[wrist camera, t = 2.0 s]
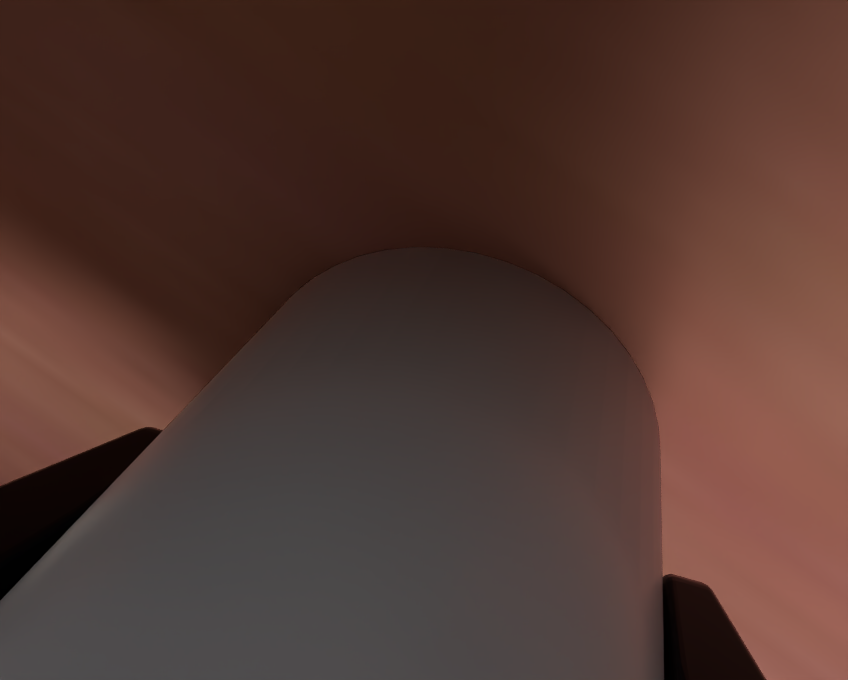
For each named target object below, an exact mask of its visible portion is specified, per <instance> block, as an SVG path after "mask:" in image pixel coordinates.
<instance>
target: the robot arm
mask: <svg viewBox="0 0 848 680" xmlns="http://www.w3.org/2000/svg"><path fill="white" fill-rule="evenodd" d="M162 431H163V430H160V429H157V428H153V427H145V428H141V429H138V430H136V431H133V432H131V433H129V434H126V435H124V436H121V437H119V438H116V439H114V440H112V441H109V442H107V443H104V444H102V445H99V446H97V447H94V448H92V449H90V450H87V451H85V452H82V453H80V454H77V455H75V456H73V457H70V458H68V459H65V460H63V461H60V462H58V463H55V464H53V465H51V466H48V467H46V468H43V469H41V470H38V471H36V472H34V473H31V474H29V475H26V476H24V477H21V478H19V479H16V480H14V481H12V482H9V483H7V484H4V485H2V486H0V600H1V599H2V598H3V597H4V596H5V595H6V594H7V593H8V592H9V591H10V590H11V589H12V588H13V587H14V586H15V585H16V584H17V583H18V582H19V581H20V579H21V578H22V577H23V576H24V575H25V574H26V573H27V572H28V571H29V570H30V569H31V568H32V567H33V566H34V565H35V564H36V563H37V562H38V561H39V560H40V559H41V558H42V556H43V555H44V554H45V553H46V552H47V551H48V550H49V549H50V548H51V547H52V546H53V545H54V544H55V543H56V542H57V541H58V540H59V539H60V538H61V537H62V536H63V535H64V533H65V532H66V531H67V530H68V529H69V528H70V527H71V526H72V525H73V524H74V523H75V522H76V521H77V520H78V519H79V518H80V517H81V516H82V515H83V514H84V513H85V512H86V511H87V509H88V508H89V507H90V506H91V505H92V504H93V503H94V502H95V501H96V500H97V499H98V498H99V497H100V496H101V495H102V494H103V493H104V492H105V491H106V490H107V489H108V488H109V486H110V485H111V484H112V483H113V482H114V481H115V480H116V479H117V478H118V477H119V476H120V475H121V474H122V473H123V472H124V471H125V470H126V469H127V468H128V467H129V466H130V465H131V463H132V462H133V461H134V460H135V459H136V458H137V457H138V456H139V455H140V454H141V453H142V452H143V451H144V450H145V449H146V448H147V447H148V446H149V445H150V444H151V443H152V442H153V441H154V439H155V438H156V437H157V436H158V435H159V434H160V433H161V432H162ZM663 635H664V680H766V679H765V677H764V675H763V674H762V672H761V670H760V669H759V667H758V665H757V664H756V662H755V660H754V659H753V657H752V655H751V654H750V652H749V650H748V649H747V647H746V645H745V644H744V642H743V641H742V639H741V637H740V636H739V634H738V632H737V631H736V629H735V627H734V626H733V624H732V622H731V621H730V619H729V617H728V616H727V614H726V612H725V611H724V609H723V607H722V606H721V604H720V602H719V601H718V599H717V597H716V596H715V594H714V592H713V591H712V590H711V589H710V588H709V587H708V586H707V585H706V584H704V583H702V582H698V581H695V580H691V579H688V578H684V577H681V576H677V575H674V574H668V575H665V576H664V577H663Z"/></svg>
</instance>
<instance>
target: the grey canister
mask: <svg viewBox="0 0 848 680" xmlns="http://www.w3.org/2000/svg"><path fill="white" fill-rule="evenodd" d="M0 680H664V635H663V577H662V518H661V460H660V439H659V426H658V422H657V418H656V413H655V409H654V405H653V401H652V399H651V396H650V394H649V391H648V389H647V386H646V384H645V381H644V379H643V377H642V375H641V373H640V372H639V370H638V368H637V367H636V365H635V363H634V361H633V360H632V358H631V356H630V355H629V353H628V352H627V351H626V349H625V348H624V347H623V345H622V344H621V343H620V342H619V340H618V339H617V338H616V337H615V335H614V334H613V333H612V331H611V330H610V329H609V328H608V327H607V326H606V325H605V324H604V323H603V322H602V321H600V320H599V319H598V318H597V317H596V316H595V315H594V314H593V313H592V312H591V311H590V310H589V309H588V308H587V307H585V306H584V305H583V304H581V303H580V302H579V301H577V300H576V299H575V298H573V297H572V296H571V295H569V294H568V293H567V292H565V291H564V290H562V289H561V288H559V287H557V286H555V285H554V284H552V283H550V282H549V281H547V280H545V279H543V278H542V277H540V276H538V275H536V274H534V273H532V272H529V271H527V270H525V269H522V268H520V267H518V266H515V265H513V264H511V263H508V262H505V261H502V260H498V259H495V258H492V257H488V256H485V255H481V254H478V253H473V252H466V251H460V250H454V249H448V248H427V247H411V248H401V249H390V250H384V251H379V252H375V253H371V254H366V255H362V256H359V257H356V258H353V259H351V260H348V261H346V262H343V263H341V264H338V265H335V266H334V267H332V268H330V269H328V270H327V271H325V272H323V273H321V274H320V275H318V276H316V277H314V278H313V279H312V280H310V281H309V282H308V283H307V284H305V285H304V286H303V287H302V288H300V289H299V290H298V291H297V292H295V293H294V294H293V295H292V296H291V297H290V298H289V299H288V300H287V302H286V303H285V304H284V305H283V306H282V307H281V308H280V309H279V310H278V311H277V312H276V313H275V314H274V315H273V316H272V317H271V318H270V319H269V320H268V321H267V322H266V323H265V325H264V326H263V327H262V328H261V329H260V330H259V331H258V332H257V333H256V334H255V335H254V336H253V337H252V338H251V339H250V340H249V341H248V342H247V343H246V344H245V345H244V346H243V348H242V349H241V350H240V351H239V352H238V353H237V354H236V355H235V356H234V357H233V358H232V359H231V360H230V361H229V362H228V363H227V364H226V365H225V366H224V367H223V368H222V369H221V370H220V372H219V373H218V374H217V375H216V376H215V377H214V378H213V379H212V380H211V381H210V382H209V383H208V384H207V385H206V386H205V387H204V388H203V389H202V390H201V391H200V392H199V393H198V395H197V396H196V397H195V398H194V399H193V400H192V401H191V402H190V403H189V404H188V405H187V406H186V407H185V408H184V409H183V410H182V411H181V412H180V413H179V414H178V415H177V416H176V418H175V419H174V420H173V421H172V422H171V423H170V424H169V425H168V426H167V427H166V428H165V429H164V430H163V431H162V432H161V433H160V434H159V435H158V436H157V437H156V438H155V439H154V441H153V442H152V443H151V444H150V445H149V446H148V447H147V448H146V449H145V450H144V451H143V452H142V453H141V454H140V455H139V456H138V457H137V458H136V459H135V460H134V461H133V462H132V463H131V465H130V466H129V467H128V468H127V469H126V470H125V471H124V472H123V473H122V474H121V475H120V476H119V477H118V478H117V479H116V480H115V481H114V482H113V483H112V484H111V485H110V486H109V488H108V489H107V490H106V491H105V492H104V493H103V494H102V495H101V496H100V497H99V498H98V499H97V500H96V501H95V502H94V503H93V504H92V505H91V506H90V507H89V508H88V509H87V511H86V512H85V513H84V514H83V515H82V516H81V517H80V518H79V519H78V520H77V521H76V522H75V523H74V524H73V525H72V526H71V527H70V528H69V529H68V530H67V531H66V532H65V533H64V535H63V536H62V537H61V538H60V539H59V540H58V541H57V542H56V543H55V544H54V545H53V546H52V547H51V548H50V549H49V550H48V551H47V552H46V553H45V554H44V555H43V556H42V558H41V559H40V560H39V561H38V562H37V563H36V564H35V565H34V566H33V567H32V568H31V569H30V570H29V571H28V572H27V573H26V574H25V575H24V576H23V577H22V578H21V579H20V581H19V582H18V583H17V584H16V585H15V586H14V587H13V588H12V589H11V590H10V591H9V592H8V593H7V594H6V595H5V596H4V597H3V598H2V599H1V600H0Z"/></svg>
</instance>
